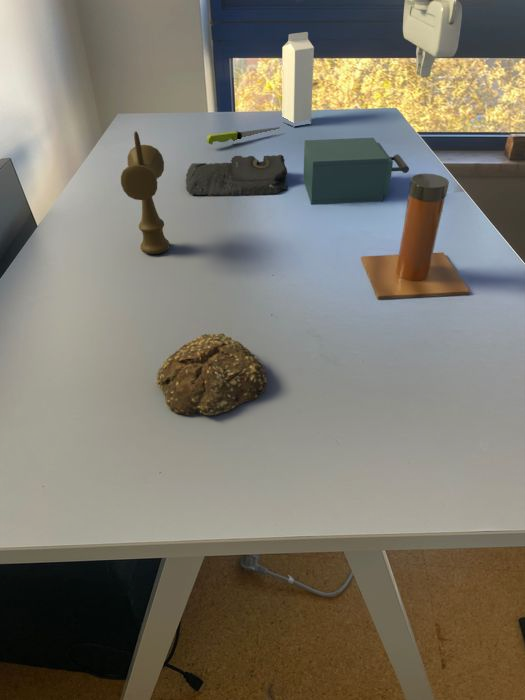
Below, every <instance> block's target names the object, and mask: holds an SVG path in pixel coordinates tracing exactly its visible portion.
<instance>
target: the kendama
mask: <svg viewBox="0 0 525 700" xmlns="http://www.w3.org/2000/svg"><path fill="white" fill-rule="evenodd" d="M133 138H134V147H133V148H131V149H130V150H129V152H128V155H127V166H126V167H125V168H124V169H122V172H121V175H120V185H121V188H122V191H123V192H124V193H125V194H126V196H128V197H129V198H131V199H132V200H136V201H141V221H140V222H139V223H138V229H139V230H140V231H141V233H142V241H141V243H140V251H142V252H143V253H144V254H147V255H158V254H162V253H165V252H166V251H168V250H169V247H170V241H169V240H168V239H167V238H166V236H165V234H164V226H165V222H164V220H163V219H162V218H160V216H159V214H158V211H157V208H156V205H155V203H154V199H153V197H154V196H155V195H156V193H157V191H158V179H160V177H162V175H163V173H164V170H165V161H164V158H163V155H162V154H161V152H160V151H159V149H158V148H156V147H155V146H153V145H148V144H141V140H140V136H139V133H138V131H136V130H135V131H134V132H133Z"/></svg>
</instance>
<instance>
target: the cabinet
mask: <svg viewBox="0 0 525 700" xmlns="http://www.w3.org/2000/svg"><path fill="white" fill-rule="evenodd" d="M378 143H379V142H377V141H376V139H375V138H374V137H353V138H328V139H304V148H303V149H304V150H303V151H304V152H303V177H302V181H303V180H304V181H303V183H304V186H305V190H306V193H307V196H308V199H309V202H310V204H311V205H324V204H327V205H328V204H347V203H348V204H349V203H369V202H371V203H372V202H383V200H384V195H383V194H384V187H385V179H386V172H387V165H388V157H387V156H386V154H385V153H384V152H383V150H382V149H381V148H380V146H379V145H378Z"/></svg>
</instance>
